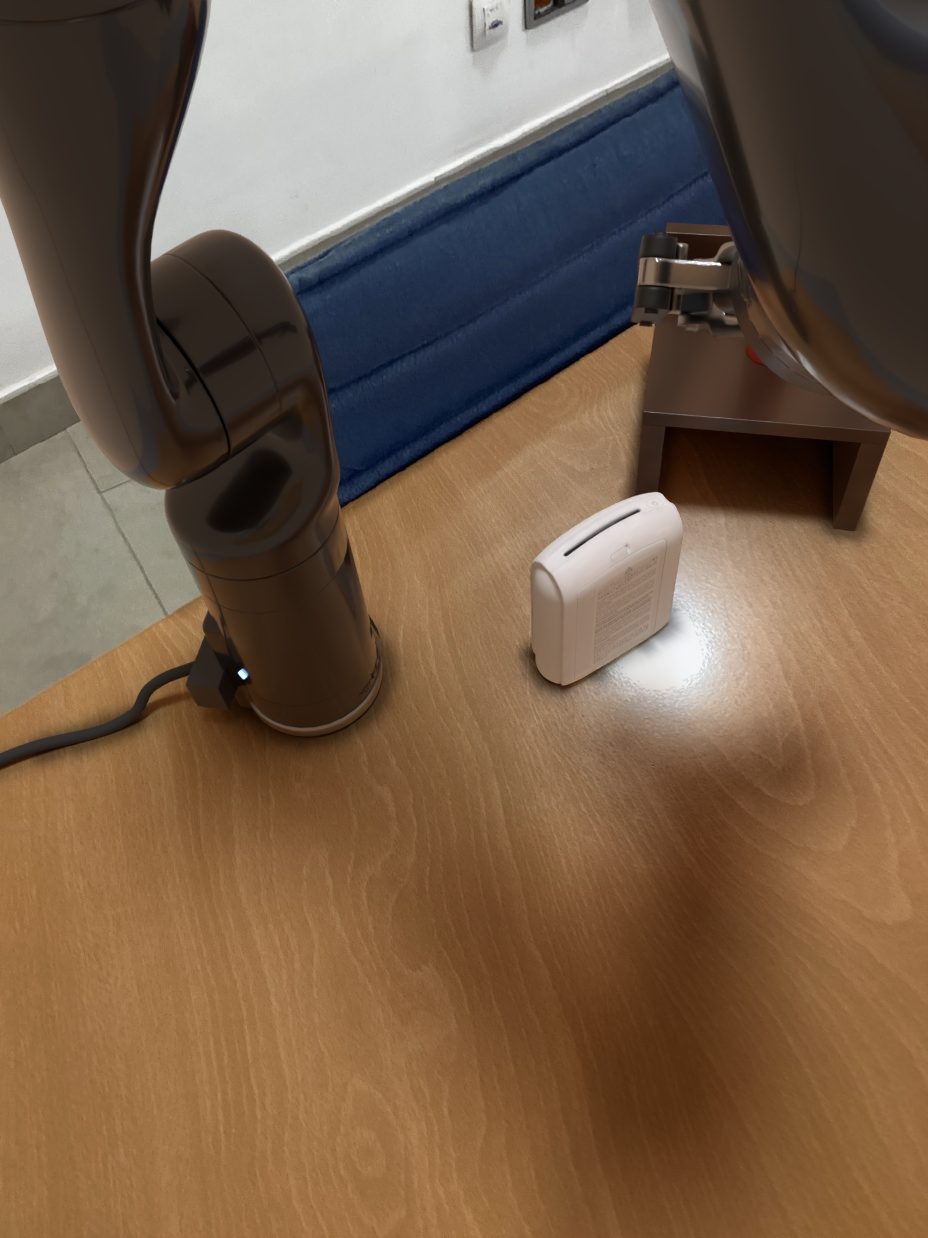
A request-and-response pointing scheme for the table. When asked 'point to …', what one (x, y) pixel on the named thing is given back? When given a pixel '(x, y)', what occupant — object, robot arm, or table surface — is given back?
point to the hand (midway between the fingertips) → (805, 315)
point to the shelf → (746, 399)
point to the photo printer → (604, 586)
